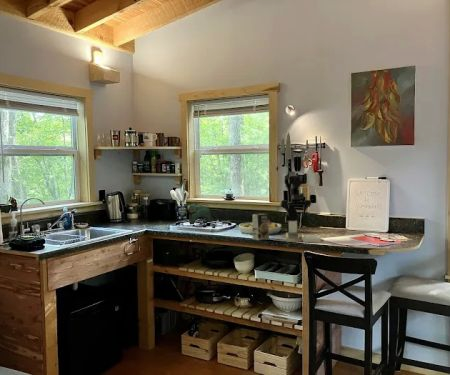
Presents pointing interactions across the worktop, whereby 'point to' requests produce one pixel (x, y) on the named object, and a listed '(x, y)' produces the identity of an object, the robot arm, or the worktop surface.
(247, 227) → the bowl
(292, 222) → the lever cap
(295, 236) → the plane body
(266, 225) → the coffee box
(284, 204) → the robot arm
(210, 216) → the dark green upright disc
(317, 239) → the tray
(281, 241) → the worktop surface
